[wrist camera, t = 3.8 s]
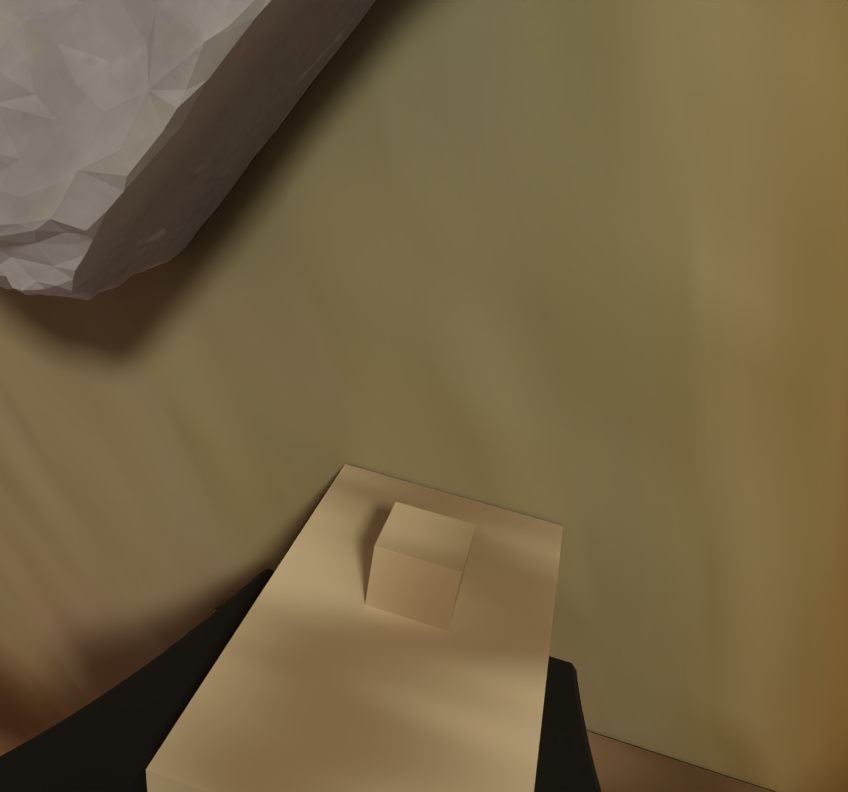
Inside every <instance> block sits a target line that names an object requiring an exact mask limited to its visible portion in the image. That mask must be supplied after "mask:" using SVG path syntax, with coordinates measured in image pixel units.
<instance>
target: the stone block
mask: <svg viewBox="0 0 848 792" xmlns="http://www.w3.org/2000/svg"><path fill="white" fill-rule="evenodd" d="M375 1H376V0H0V287H2V288H5V289H16V290H18V291H20V292H22V293H23V294H25V295H37V294H41V295H46V296H60V297H70V298H76V299H82V300H88V301H89V300H90V299H91V298H93V297H94V296H95V295H96V294H98V293H100V292H103V291H107V290H111V289H114V288H116V287H118V286H120V285H122V284H123V283H124V282H125V281H126V280H127V279H128V278H129V277H131V276H132V275H133V274H139V273H142V272H144V271H146V270H148V269H151V268H153V267H156V266H159V265H161V264H164V263H167V262H170V261H171V260H172V259H174V258H175V257H176V256H177V255H178V254H179V253H180V252H181V251H182V250H183V249H184V248H186V247H187V246H188V244H189V243H190V241H191V240H192V239H193V237H194V236H195V234H196V233H197V232H198V230H199V229H200V227H201V226H202V225H203V224H204V222H205V221H206V220H207V219H208V218H209V217H210V216H211V215H212V214H213V213H214V212H215V211H216V209H217V208H218V207H219V205H220V204H221V203H222V201H223V200H224V199H225V197H226V196H227V195H228V193H229V192H230V191H231V189H232V188H233V186H234V185H235V184H236V182H237V181H238V180H239V178H240V177H241V175H242V174H243V173H244V171H245V170H246V168H247V167H248V165H249V164H250V162H251V161H252V159H253V158H254V157H255V156H256V154H257V153H258V152H259V151H260V150H261V149H262V147H263V146H264V145H265V144H266V143H267V141H268V140H269V139H270V138H271V137H272V135H273V134H274V133H275V132H276V130H277V129H278V128H279V126H280V125H281V124H282V122H283V121H284V120H285V118H286V117H287V116H288V114H289V113H290V112H291V110H292V109H293V108H294V106H295V105H296V104H297V102H298V101H299V100H300V98H301V97H302V96H303V94H304V93H305V92H306V90H307V89H308V88H309V86H310V85H311V84H312V82H313V81H314V80H315V78H316V77H317V76H318V74H319V73H320V72H321V71H322V69H323V68H324V67H325V66H326V64H327V63H328V62H329V61H330V59H331V58H332V57H333V56H334V54H335V53H336V52H337V51H338V49H339V48H340V47H341V46H342V44H343V43H344V42H345V41H346V39H347V38H348V37H349V36H350V34H351V33H352V32H353V31H354V29H355V28H356V27H357V25H358V24H359V23H360V22H361V20H362V19H363V18H364V16H365V15H366V13H367V12H368V11H369V9H370V8H371V6H372V5H373V4H374V2H375Z"/></svg>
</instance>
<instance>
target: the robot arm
mask: <svg viewBox="0 0 848 792" xmlns="http://www.w3.org/2000/svg"><path fill="white" fill-rule="evenodd" d="M274 572H275V571H273V570H270V569H267V570H265V571H263V572H261V573H260V574H259V575H258V576H257V577H255V578H254V579H253V580H252V581H251V582H250V583H249V584H247V585H246V586H245V587H244V588H243V589H242V590H241V591H239V592H238V593H237V594H236V595H235V596H234V597H232V598H231V599H230V600H229V601H228V602H226V603H225V604H224V605H223V606H222V607H220V608H219V609H218V610H217V611H216V612H214V613H213V614H212V615H211V616H209V617H208V618H207V619H206V620H205V621H203V622H202V623H201V624H200V625H198V626H197V627H196V628H194V629H193V630H192V631H191V632H189V633H188V634H187V635H185V636H184V637H183V638H182V639H180V640H179V641H178V642H176V643H175V644H174V645H172V646H171V647H170V648H169V649H167V650H166V651H165V652H163V653H162V654H161V655H159V656H158V657H157V658H155V659H154V660H152V661H151V662H150V663H148V664H147V665H145V666H144V667H143V668H141V669H140V670H138V671H137V672H135V673H134V674H133V675H131V676H130V677H128V678H127V679H125V680H124V681H123V682H121V683H120V684H118V685H117V686H116V687H114V688H113V689H111V690H110V691H108V692H107V693H105V694H104V695H102V696H101V697H99V698H98V699H96V700H95V701H93V702H91V703H90V704H88V705H87V706H85V707H84V708H82V709H81V710H79V711H77V712H76V713H74V714H73V715H71V716H69V717H68V718H66V719H64V720H63V721H61V722H59V723H58V724H56V725H55V726H53V727H51V728H50V729H48V730H46V731H45V732H43V733H41V734H39V735H38V736H36V737H34V738H32V739H31V740H29V741H27V742H25V743H23V744H22V745H20V746H18V747H16V748H15V749H13V750H11V751H9V752H7V753H6V754H4V755H2V756H0V792H147V780H146V768H147V767H148V765H149V764H150V762H151V761H152V759H153V758H154V756H155V755H156V753H157V752H158V750H159V748H160V747H161V745H162V744H163V742H164V741H165V739H166V738H167V736H168V735H169V733H170V732H171V730H172V729H173V727H174V725H175V724H176V722H177V721H178V719H179V718H180V716H181V715H182V713H183V712H184V710H185V709H186V707H187V706H188V704H189V702H190V701H191V699H192V698H193V696H194V695H195V693H196V692H197V690H198V689H199V687H200V686H201V684H202V683H203V681H204V679H205V678H206V676H207V675H208V673H209V672H210V670H211V669H212V667H213V666H214V664H215V663H216V661H217V660H218V658H219V656H220V655H221V653H222V652H223V650H224V649H225V647H226V646H227V644H228V643H229V641H230V640H231V638H232V637H233V635H234V633H235V632H236V630H237V629H238V627H239V626H240V624H241V623H242V621H243V620H244V618H245V617H246V615H247V614H248V612H249V610H250V609H251V607H252V606H253V604H254V603H255V601H256V600H257V598H258V597H259V595H260V594H261V592H262V591H263V589H264V587H265V586H266V584H267V583H268V581H269V580H270V578H271V577H272V575H273V574H274ZM534 792H602V791H601V788H600V784H599V780H598V777H597V773H596V769H595V765H594V761H593V757H592V753H591V749H590V745H589V740H588V736H587V731H586V726H585V722H584V717H583V712H582V706H581V701H580V694H579V688H578V681H577V672H576V669H575V668H574V666H573V665H572V663H569V662H566V661H563V660H560V659H556V658H553V657H550V656H549V660H548V669H547V678H546V687H545V696H544V705H543V714H542V724H541V733H540V742H539V751H538V760H537V769H536V778H535V787H534Z"/></svg>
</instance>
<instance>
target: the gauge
mask: <svg viewBox="0 0 848 792" xmlns="http://www.w3.org/2000/svg"><path fill="white" fill-rule="evenodd" d="M562 533H563V526H561V525H558V524H554V523H551V522H547V521H544V520H540V519H537V518H533V517H530V516H526V515H523V514H519V513H516V512H512V511H509V510H505V509H502V508H498V507H495V506H491V505H488V504H484V503H481V502H477V501H474V500H470V499H466V498H463V497H459V496H456V495H452V494H449V493H445V492H442V491H438V490H435V489H431V488H428V487H424V486H421V485H417V484H414V483H410V482H407V481H403V480H400V479H396V478H393V477H389V476H386V475H382V474H379V473H375V472H372V471H368V470H365V469H361V468H357V467H354V466H350V465H347V464H345V465H344V466H343V468H342V469H341V471H340V472H339V474H338V475H337V477H336V479H335V480H334V482H333V483H332V485H331V486H330V488H329V489H328V491H327V492H326V494H325V495H324V497H323V498H322V500H321V502H320V503H319V505H318V506H317V508H316V509H315V511H314V512H313V514H312V515H311V517H310V518H309V520H308V522H307V523H306V525H305V526H304V528H303V529H302V531H301V532H300V534H299V535H298V537H297V538H296V540H295V541H294V543H293V545H292V546H291V548H290V549H289V551H288V552H287V554H286V555H285V557H284V558H283V560H282V561H281V563H280V564H279V566H278V568H277V569H276V571H275V572H274V574H273V575H272V577H271V578H270V580H269V581H268V583H267V584H266V586H265V587H264V589H263V591H262V592H261V594H260V595H259V597H258V598H257V600H256V601H255V603H254V604H253V606H252V607H251V609H250V610H249V612H248V614H247V615H246V617H245V618H244V620H243V621H242V623H241V624H240V626H239V627H238V629H237V630H236V632H235V633H234V635H233V637H232V638H231V640H230V641H229V643H228V644H227V646H226V647H225V649H224V650H223V652H222V653H221V655H220V656H219V658H218V660H217V661H216V663H215V664H214V666H213V667H212V669H211V670H210V672H209V673H208V675H207V676H206V678H205V679H204V681H203V683H202V684H201V686H200V687H199V689H198V690H197V692H196V693H195V695H194V696H193V698H192V699H191V701H190V702H189V704H188V706H187V707H186V709H185V710H184V712H183V713H182V715H181V716H180V718H179V719H178V721H177V722H176V724H175V725H174V727H173V729H172V730H171V732H170V733H169V735H168V736H167V738H166V739H165V741H164V742H163V744H162V745H161V747H160V748H159V750H158V752H157V753H156V755H155V756H154V758H153V759H152V761H151V762H150V764H149V765H148V767H147V768H146V780H147V792H534V787H535V778H536V769H537V760H538V751H539V742H540V733H541V724H542V714H543V705H544V696H545V687H546V678H547V669H548V660H549V651H550V642H551V633H552V624H553V615H554V606H555V597H556V588H557V579H558V570H559V561H560V551H561V542H562Z"/></svg>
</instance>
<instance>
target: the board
mask: <svg viewBox="0 0 848 792" xmlns="http://www.w3.org/2000/svg"><path fill="white" fill-rule="evenodd" d="M216 611H217V610H215V609H213V610H212V611H211V613H210V614H209V616H211V615H212V614H213V613H214V612H216ZM209 616H208V617H209ZM208 617H207V618H208ZM207 618H206V619H207ZM587 736H588V740H589V745H590V749H591V753H592V757H593V761H594V765H595V769H596V773H597V777H598V780H599V784H600V788H601V791H602V792H773V791H770V790H767V789H764V788H761V787H758V786H755V785H752V784H748V783H745V782H742V781H739V780H736V779H733V778H730V777H727V776H724V775H721V774H718V773H715V772H712V771H709V770H706V769H703V768H699V767H696V766H693V765H690V764H687V763H684V762H681V761H678V760H675V759H672V758H669V757H666V756H663V755H660V754H657V753H653V752H650V751H647V750H644V749H641V748H638V747H635V746H632V745H629V744H626V743H623V742H620V741H617V740H614V739H611V738H608V737H604V736H601V735H598V734H595V733H592V732H589V731H587Z"/></svg>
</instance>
